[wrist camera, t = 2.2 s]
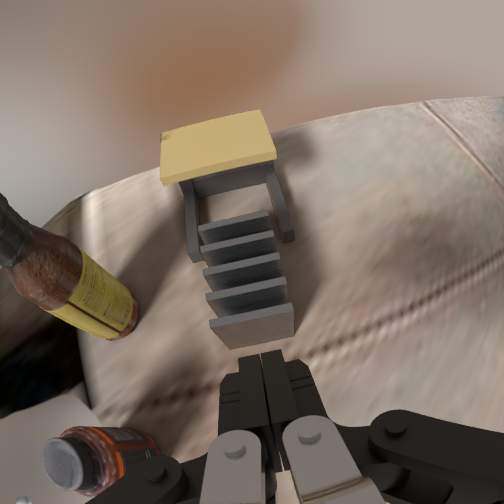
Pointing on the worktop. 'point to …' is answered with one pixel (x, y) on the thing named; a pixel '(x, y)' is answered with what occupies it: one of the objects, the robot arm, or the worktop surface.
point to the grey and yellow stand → (221, 167)
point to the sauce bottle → (64, 278)
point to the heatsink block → (246, 281)
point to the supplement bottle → (94, 457)
